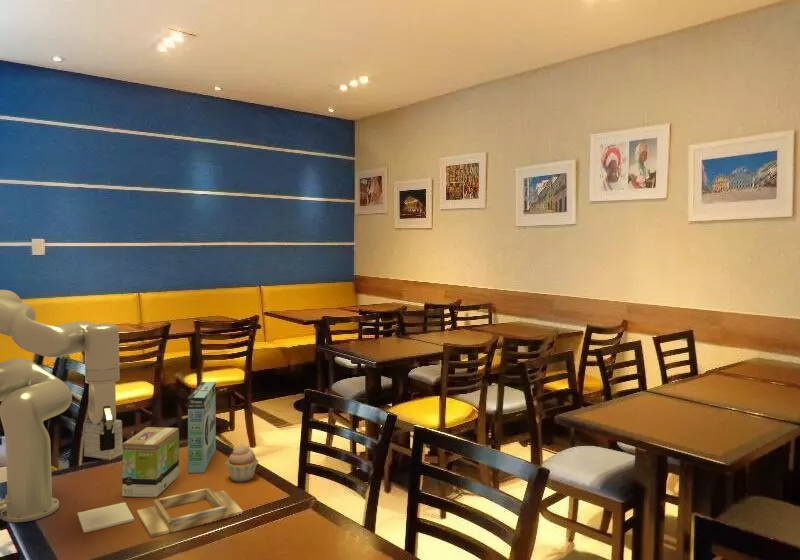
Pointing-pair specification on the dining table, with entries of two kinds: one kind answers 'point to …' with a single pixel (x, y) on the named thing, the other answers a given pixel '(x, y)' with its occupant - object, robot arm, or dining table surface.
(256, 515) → the dining table surface
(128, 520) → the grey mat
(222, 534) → the dining table surface
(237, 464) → the cupcake
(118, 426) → the medicine box
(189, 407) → the gum box
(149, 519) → the beige rectangular frame piece
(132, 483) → the tea box
